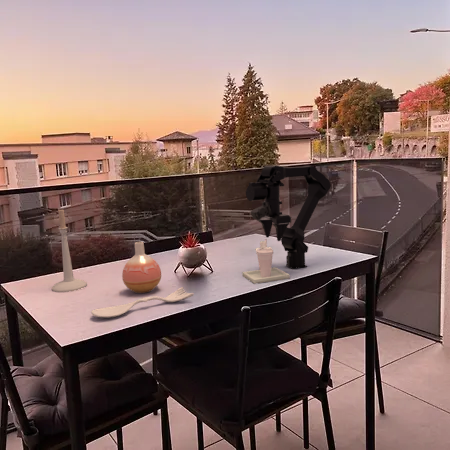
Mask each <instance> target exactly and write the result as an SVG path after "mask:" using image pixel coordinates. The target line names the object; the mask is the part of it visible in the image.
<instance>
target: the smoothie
mask: <svg viewBox="0 0 450 450" xmlns="http://www.w3.org/2000/svg"><path fill="white" fill-rule="evenodd" d="M264 241H265V249H261V248H260V249H258V250H255V251H256V253H255V254H256V255H257V260H258V261H257V262H258V266H259V267H258V268H259V270H260V274H261V277H270V276H271V268H272V265H273V256H274V249H272V250H271V249H267V247H268V242H267V241H268V240H267V238H265V239H264Z"/></svg>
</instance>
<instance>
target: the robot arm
mask: <svg viewBox="0 0 450 450" xmlns="http://www.w3.org/2000/svg"><path fill="white" fill-rule="evenodd" d="M293 177H294V178H295V177H304V180H305V183H306V184H307V185H308V187H307V197H306V198H305V200H304V203H303V205H302V207H301V209H300V211H299V213H298V214H297V216H296V218H295V220H294V223H293V224H292V226H291V227H288V226H289V225H290V224H291V223H292V216H291V215H289V214H285V213H283V211H281V205H283V202H282V201H281V198H280V197H281V194H280V187H284V186H285V184H284V183H283V182H282V180H285V179H286V178H293ZM330 190H331V181H330V180H329V178H327V177H326V176H325V175H324V174H323V173H321V172H320V171H319V170H318V169H317V168H316V167H315V166H314V165H303V166H295V167H294V166H293V167H285V166H281V165H265V166H263V168H262V169H261V172H260V175H259V176H258V178H257V180H256V182H248V186H247V187H246V190H245V196H246V198H247V200H248V201H249V202H254V201H262V203H261V206H258V207H256V208H254V209H252V210H250V215H251V218H252V219H253V220H256V221H258V222H259V223H260V224H261V226H262V228H263V232H264V234H265V238H266V239H267V238H270V235H271V231H272V226H273V227H274V228H275V234H276V239H277V240H276V241H277V242H281V245H282V247H283V250H284V251H285V252H287V255H286V263H285V264H286V265H285V267H288V268H290V269H292V270H295V269H301V268H307V267H308V265H307V264H306V253H308V251H309V246H308V245H307V244H306V243H305V242H304V241H305V230H306V228H307V227H308V226H307V225H308V224H309V222H310V220H311V218H312V216H313V213H314V212H315V209H316V208H317V206H318V204H319V202H320V200H322V199H323V198H324V197H325V196H327V195H328V192H329V191H330Z"/></svg>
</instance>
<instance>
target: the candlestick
mask: <svg viewBox="0 0 450 450" xmlns="http://www.w3.org/2000/svg"><path fill="white" fill-rule="evenodd" d="M57 211H58V220H59V227H58V230H59V234H60V235H61V253H62V254H61V255H62V269H63V271H62V272H63V280H60V281H58V282H57V283H55V284H54V285H53V286H52V287H51V291H52V290H53V291H52V292H54V291H55V292H54V293H70V292H69V291H71V292H75V291H74V290H76V291H79V290H78V289H80V290H82V289H81V288H83V289H85V288H86V287H88V282H87V281H85V280H83V279H80V278H75V277H74V271H73V266H72V259H71V253H70V248H69V243H68V236H67V233H68V226H66V217H65V210H64V209H58V210H57ZM85 286H86V287H85ZM84 287H85V288H84Z"/></svg>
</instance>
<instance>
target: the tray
mask: <svg viewBox="0 0 450 450" xmlns="http://www.w3.org/2000/svg"><path fill="white" fill-rule="evenodd" d="M241 274H242V277H243V278H245V279H246V280H247V281H249V280H250V281H249V282H250V283H252V284H254V285H257V284H256V283H258V284H262V283H263V282H264V283H270V282H277V281H281V280H288V279H291V275H290V274H289V273H287V272H285V271H284V270H282V269H280V268H277V267H271V276H270V277H261V274H260V269H256V270H248V271H243V272H241Z"/></svg>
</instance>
